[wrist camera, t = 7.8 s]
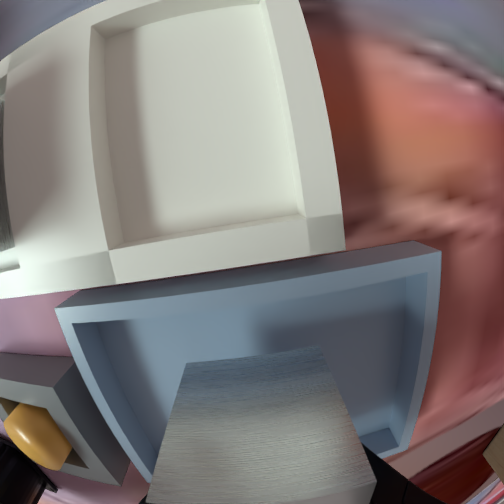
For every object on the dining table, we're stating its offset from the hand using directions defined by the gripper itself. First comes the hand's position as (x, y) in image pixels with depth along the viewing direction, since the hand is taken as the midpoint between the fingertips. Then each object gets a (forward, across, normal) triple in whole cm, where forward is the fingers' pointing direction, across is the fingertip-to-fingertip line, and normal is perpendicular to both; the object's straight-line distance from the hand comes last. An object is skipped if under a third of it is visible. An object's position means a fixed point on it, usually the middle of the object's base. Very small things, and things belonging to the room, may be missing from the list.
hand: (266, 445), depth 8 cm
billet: (+1, 0, 0) cm, 1 cm away
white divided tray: (+3, +6, -10) cm, 12 cm away
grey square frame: (+3, +12, +2) cm, 12 cm away
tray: (+3, 0, 0) cm, 3 cm away
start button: (+3, +12, +1) cm, 12 cm away
